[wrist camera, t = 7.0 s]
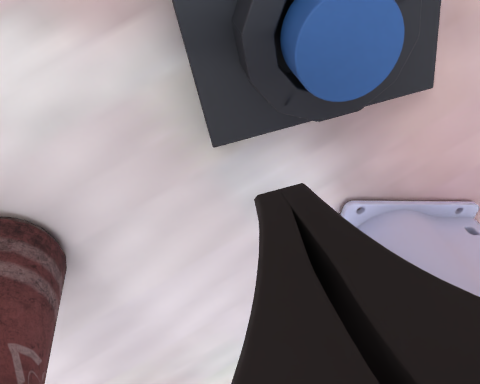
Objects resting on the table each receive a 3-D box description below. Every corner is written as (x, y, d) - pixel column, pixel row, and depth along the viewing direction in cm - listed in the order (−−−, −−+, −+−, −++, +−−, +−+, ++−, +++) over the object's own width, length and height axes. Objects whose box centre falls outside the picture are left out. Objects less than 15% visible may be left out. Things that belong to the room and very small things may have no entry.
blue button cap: (380, -38, 15) (408, -29, 13) (379, 69, 17) (403, 87, 16) (272, -10, 15) (287, 2, 13) (286, 94, 17) (301, 114, 16)
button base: (431, -145, 16) (493, -152, 13) (417, 76, 22) (458, 105, 19) (151, -74, 16) (154, -65, 13) (209, 133, 21) (219, 171, 18)
